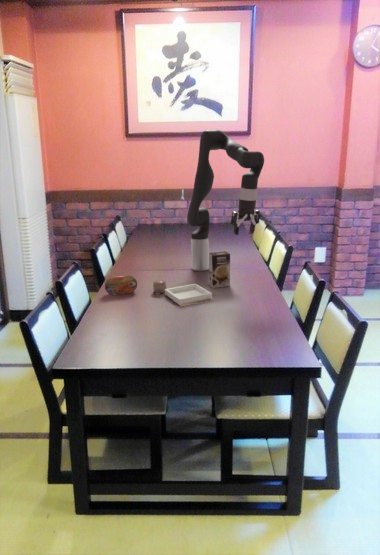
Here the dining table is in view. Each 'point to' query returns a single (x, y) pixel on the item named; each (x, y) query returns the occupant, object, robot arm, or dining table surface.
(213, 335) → the dining table surface
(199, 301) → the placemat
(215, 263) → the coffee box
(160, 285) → the rounded taupe cylinder
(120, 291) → the tin
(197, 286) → the dish
